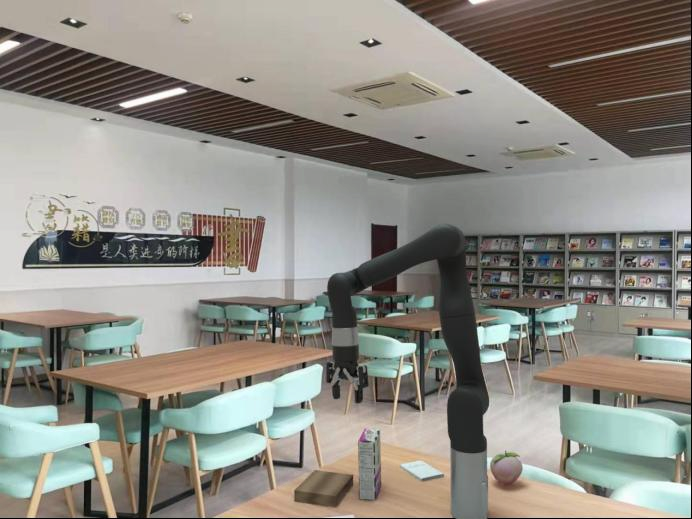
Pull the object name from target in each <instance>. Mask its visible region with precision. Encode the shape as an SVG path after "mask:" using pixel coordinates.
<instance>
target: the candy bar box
mask: <svg viewBox="0 0 692 519" xmlns="http://www.w3.org/2000/svg"><path fill="white" fill-rule="evenodd" d="M357 446H358V448H357V450H358V456H357V457H358V496H359V500H361V499H363V500H364V501H374V502H375V501H377V498H378V494H379V492H380V488H381V487H382V462H381V461H382V460H381V459H382V456H381V455H382V454H381V452H382V451H381V429H380V428H370V427H369V428H366V427H365V428H364V429H363V431H362V433H361V435H360V437H359V439H358V441H357ZM363 500H362V501H363Z"/></svg>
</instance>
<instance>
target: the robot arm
mask: <svg viewBox="0 0 692 519" xmlns="http://www.w3.org/2000/svg"><path fill="white" fill-rule="evenodd" d="M466 246H467V242H466V237H465V235H464V233H463V231H462V230H461V229H460V228H458V227H457V226H455V225H453V224H449V223H440V224H437V225H436V226H434V227H433V228H431V229H430V230H428V231H427V232H425V233H423V234H421V235H420V236H418V237H417V238H415V239H413V240H412V241H410V242H407V243H405V244H404V245H402V246H400V247H398V248H395V249H393V250H391V251H388V252H386V253H383V254H380V255H378V256H375V257H373V258H371V259H369V260H367V261H365V262H363V263H361V264H360V265H358V267H356V268H353V269H351V270H348V271H345V272H336V273H334V274H332V275H331V276H330V277H329V278H328V281H327V285H326V289H327V290H326V291H327V297H328V302H329V307H330V309H331V324H332V326H331V329H332V331H331V348H332V350H331V351H332V360H333V361H332V360H331V361H328V362H326V368H325V370H326V371H325V372H326V378H325V380H326V381H325V382H326V383H327V384H330V385H331V387H332V388H331V390H332V399H334V400H338V399H340V398H341V385H340V383H341V381H342V380H345V381H349V383H350V384H352V385H353V388H354V389H355V390H354V403H355V404H361V403H363V399H364V389H365V388H368V387H369V375H368V374H369V373H368V365H366V364H365V365H359V364H358V362H359V359H360V344H359V342H360V341H359V331H358V313H357V309H356V307H354V305H353V304H352V296H354V295H357V294H359V293H360V292H363V291H364V290H366V289H369V288H370V287H374V286H376V285H380V284H381V283H384V282H387V281H388V280H390V279H393V278H395V277H397V276H399V275H400V274H402V273H404V272H407V271H408V270H410V269H411V268H413V267H415V266H418V265H421V264H424V263H427V262H431V261H436V262H437V268H438V273H439V279H440V280H439V282H440V284H439V295H438V296H439V299H438V312H439V313H438V316H439V322H440V329H441V335H442V339H443V341H444V344H445V346H446V349H447V351H448V352H449V355H450V357H451V360H452V363H453V367H454V374H455V389H454V390H452V391H451V392H450V394H449V395H448V397H447V402H446V420H447V424H446V425H447V436H448V439H449V441H450V444H449V445H450V448H449V449H450V452H449V454H450V459H449V460H450V461H449V462H450V514H451V516H452V517H453V518H455V519H488V515H489V476H488V440H487V437H486V436H485V434H484V433H485V432H484V415H485V414H486V413H487V412H488V409H489V407H490V395H489V391H488V387H487V382H486V380H485V377H484V376H485V375H484V371H483V367H482V361H481V351H480V350H481V349H480V342H479V335H478V324H477V318H476V311H475V306H474V301H473V296H472V291H471V287H470V286H471V285H470V283H469V282H470V281H469V278H468V270H467V247H466Z"/></svg>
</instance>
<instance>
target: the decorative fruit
mask: <svg viewBox="0 0 692 519" xmlns="http://www.w3.org/2000/svg"><path fill="white" fill-rule="evenodd" d="M518 457H519V458H521V455H519V454H518V453H516V452H513V451H512V452H511V451H509V452H507V450H505V451H504V452H502V453H497V454H495V455H494V456H493V457H492V458H491V459H490V463H489V468H490V472H491V474H492V476H493V478H494V479H495V480H496V481H497V482H498V483H500V484H503V485H504V486H508V485H511V484H513V483H514V482H517V480H518V479H519V478H520V476H521V475H522V473H523V466H524V465H523V463H522V461H521V460H520V459H519V458H518Z"/></svg>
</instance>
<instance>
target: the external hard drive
mask: <svg viewBox="0 0 692 519" xmlns="http://www.w3.org/2000/svg"><path fill="white" fill-rule="evenodd" d="M399 468H400V469H402V470H403V471H404V472H406V473H408V474H409V475H410V476H412V477H414V478H415V479H417V480H418V481H420V482H426V481H427V482H428V481H432V480H436V479H441V478H445V473H443V472H441V471H440V470H438V469H436V468H435V467H433V466H431V465H430V464H428V463H426V462H424V461H423V460H416V461H411V462H406V463H401V464H400V465H399Z"/></svg>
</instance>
